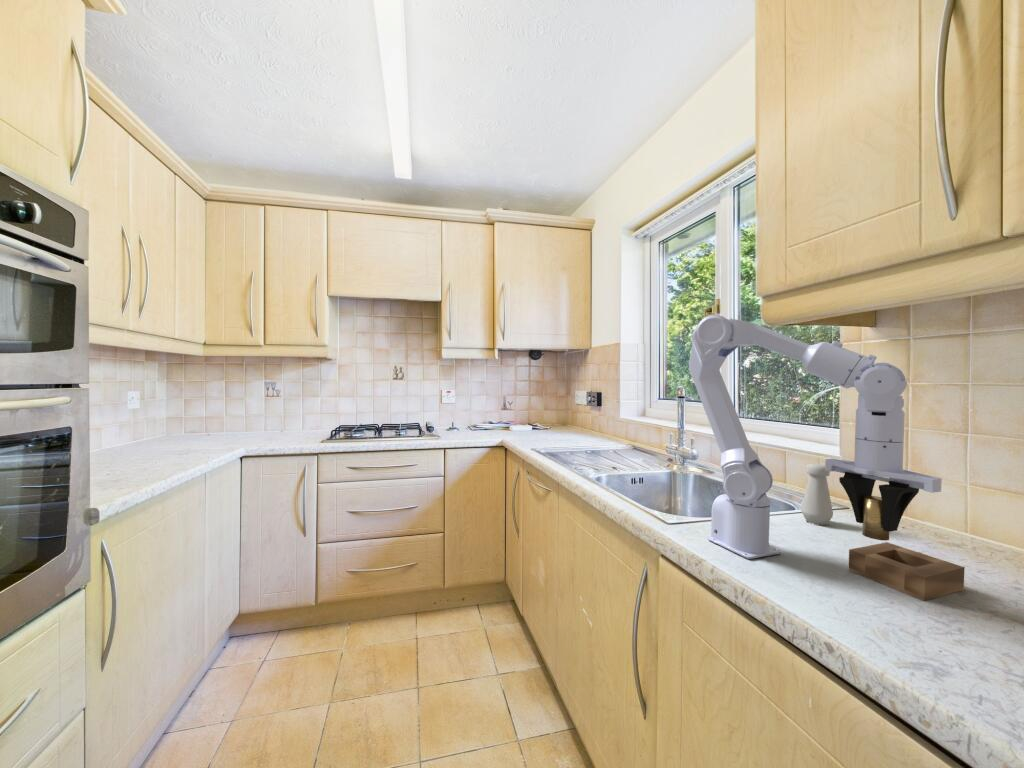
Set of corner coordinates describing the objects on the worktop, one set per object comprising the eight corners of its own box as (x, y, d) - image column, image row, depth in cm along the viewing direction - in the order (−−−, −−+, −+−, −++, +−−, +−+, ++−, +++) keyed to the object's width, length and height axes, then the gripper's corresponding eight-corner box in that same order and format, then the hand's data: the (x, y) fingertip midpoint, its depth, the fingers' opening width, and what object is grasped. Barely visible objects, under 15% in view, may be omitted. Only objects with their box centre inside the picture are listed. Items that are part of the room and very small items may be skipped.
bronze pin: (857, 533, 66) (858, 496, 66) (870, 531, 68) (871, 494, 67) (880, 541, 63) (881, 502, 63) (894, 539, 64) (895, 500, 64)
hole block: (848, 570, 70) (849, 549, 70) (886, 561, 73) (887, 542, 73) (924, 600, 60) (925, 577, 60) (963, 589, 64) (964, 567, 64)
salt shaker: (819, 517, 96) (821, 461, 96) (839, 526, 90) (841, 467, 90) (794, 517, 96) (796, 461, 96) (813, 526, 90) (815, 466, 90)
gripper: (813, 434, 71) (811, 513, 71) (921, 448, 57) (917, 547, 57) (841, 432, 73) (839, 510, 73) (951, 446, 59) (948, 541, 60)
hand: (876, 526), depth 65 cm, fingers closed on bronze pin, 3 cm apart
